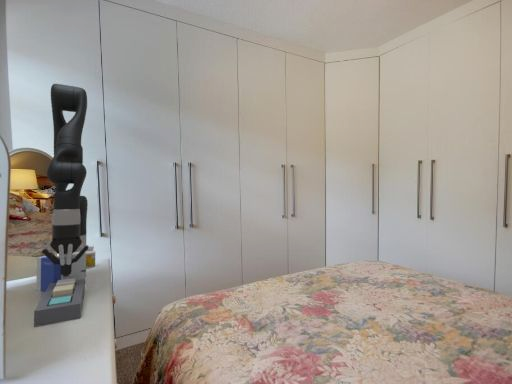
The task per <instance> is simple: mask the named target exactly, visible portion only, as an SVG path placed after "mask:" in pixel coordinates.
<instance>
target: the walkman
mask: <svg viewBox="0 0 512 384" xmlns="http://www.w3.org/2000/svg"><path fill="white" fill-rule="evenodd" d="M55 256H56V257H57V258H58V259H59V260H60V257H59V255H55ZM58 280H61V266H60V265H59V264H54V263H53V262H52V261H51V260H50V259H49V258H47V257H46V256H45V255H42V256H37V257H36V284H35V285H36V287H35V288H36V291H38V292H42V293H43V292H44V293H45V291H46V289H47V287H48V286H49V284H51V283H57V281H58Z"/></svg>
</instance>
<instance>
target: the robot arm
mask: <svg viewBox="0 0 512 384" xmlns="http://www.w3.org/2000/svg"><path fill="white" fill-rule="evenodd" d="M50 103H51V112H52V113H51V114H52V123H53V157H52V159H51V161H50V163H49V165H48V167H47V170H46V176H47V179H48V181H49V182H51V183H53V184H54V185H55V186H54V188H55V189H54V195H53V211H52V220H51V225H52V229H51V230H52V232H51V233H52V235H51V241H50V243H49V246H47V247H45V248H43V250H42V251H41V252H42V254H43V256H46V257H47V258H49V259H50V260H51V261H52V262H53V263H54V264H59V265H60V266H61V280H64V279H66V277H67V276H69V274H71V272H72V263H74V262H77V261H78V260H79V259H80V258H81V256H82V255H83V254H84V253H85V252H86V251H87V249H88V247H89V245H88V244H87V221H88V219H87V218H88V216H87V215H88V199H87V196H85V195H81V192H82V188H83V186H84V183H85V180H86V177H87V168H86V167H85V165H84V158H83V157H84V156H83V155H84V153H83V151H84V150H83V149H84V148H83V146H82V135H83V129H84V126H85V123H86V122H85V121H86V116H87V109H88V94H87V91H86V89H84V88H82V87H79V86H74V85H67V84H62V83H61V84H60V83H53V84H52V85H51V86H50ZM64 112H71V113H72V112H73V113H74V115H73V116H72V118H71V119H70V120H69V121H66V119H65V116H64ZM71 184H72V187H71V188H69V189H68V186H69V185H71ZM53 250H54V251H55V253H56V254H57V255H58V256H59V257H60V260H59V259H58V258H57V257H56V256H57V255H55V254H54V253H53ZM74 252H79V253H78V254H77V256H76V257H75V258H73V259H72V255H73V253H74Z"/></svg>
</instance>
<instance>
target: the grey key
mask: <svg viewBox="0 0 512 384" xmlns="http://www.w3.org/2000/svg"><path fill="white" fill-rule="evenodd" d="M71 284H74V287H75V278H72V279H64V280H58V281H57V284H56V286H64V285H71Z"/></svg>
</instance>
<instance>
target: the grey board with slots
mask: <svg viewBox="0 0 512 384" xmlns="http://www.w3.org/2000/svg"><path fill="white" fill-rule="evenodd" d="M56 284H57V283H51V284H49V286H48V287H47V289H46V291H45V292H44V293H43V294H42V297H41V298H40V300H39V302H38V303H37V305H36V307H35V309H34V311H33V312H34V314H33V317H34V318H33V327H40V326H45V325H50V324H56V323H60V322H66V321H71V320H76V319H77V320H78V319H81V316H82V308H83V303H84V298H85V291H86V289H85V287H86V278H85V279H82V280H75V287H74V294H70V295H64V296H57V297H53V290H54V288H55V287H56ZM66 296H72V301H71V302H70V303H64V304H58V305H51V306H49V303H50V301H51V299H53V298H59V297H66Z"/></svg>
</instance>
